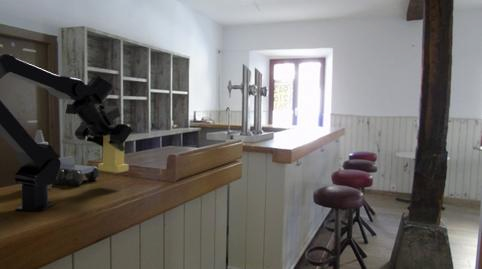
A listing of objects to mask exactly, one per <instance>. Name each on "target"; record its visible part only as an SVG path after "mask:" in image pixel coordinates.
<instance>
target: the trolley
mask: <svg viewBox="0 0 482 269" xmlns="http://www.w3.org/2000/svg"><path fill="white" fill-rule="evenodd" d="M58 158H59V160H60V162H61V164H60V169H59V171H58V174H57V178H56V181H55V185H62V184H65V183H66V182H67V184H69V185H70V186H71V187H76V186H79V185H81V184H83V182H84V178H86V180H88V181H91V182H92V181H93V182H94V181H95V180H98V179H99V178H100V175H101V170H98V166H96V165H82V164H78V163H77V164H75V162H76V160H75V158H76V156H75V155H71V156H64V157H58ZM84 176H85V177H84Z"/></svg>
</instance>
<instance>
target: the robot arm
mask: <svg viewBox="0 0 482 269" xmlns="http://www.w3.org/2000/svg"><path fill="white" fill-rule="evenodd" d="M6 75H7V76H10V77H13V78H16V79H19V80H21V81H24V82H27V83H29V84H33V85H35V86H38V87H41V88H43V89H45V90H47V91H48V92H49V94H50V95H53V96H54V97H56V98H57V99H60V100H64V101H72V102H71V103H67V104H66V109H65V114H66V115H76V116H77V117H78V118H79V120H80V121H81V122H80V125H79V126H78V127H77V128H76V130H74V136H75V137H76V138H77V140H82V141H86V142H89V143H90V144H91V143H92V144H94V145H97V146H100V147H101V148H103V136H108V135H110V141H109V142H108V143H109V144H110V145H112V146H114V147H115V148H117V149H119V150H120V151H123V150H124V151H125V144H123V143H124V142H126V140H127V139H128V137H129V136H130V135H131V133H132V132H133V127H132V126H131V124H128V123H117V124H116V125H115V126H112V125H113V124H114V123H115V122H114V120H116V119H117V118H120V117H121V116H122V114H121V113H120V112H121V111H120V108H119V106H117V105H115V106H114V105H107V106H104V105H103V104H102V103H103V102H105V100H106V99H107V98H108V96H109V95H110V94H111V93H112V92H113V89H114V88H113V85H112V83H110V82H109V81H107V80H106V79H104V78H103V77H101V76H100V75H99V74H97V75H93V76H92V78H91V79H90V80H89V82H87V83H86V84H85V81H83V80H81V79H80V78H75V77H71V76H62V75H58V74H55V73H52V72H50V71H49V70H48V71H47V70H45V69H43V68H40V67H38V66H36V65H34V64H30V63H28V62H27V61H23V60H21V59H19V58H17V57H15V56H14V55H12V54H10V53H0V80H1V79H2V78H4V76H6ZM97 104H98V105H97ZM0 136H1V137H2V138H3V139H4V140H5V141H6V142H7V143H8V144H9V145H10V146H11V147H12V149H13V150H14V151H15V152H16V153H17V157H18V158H17V159H18V162H19V164H20V167H19V168H17V170H16V172H14V173H13V175H12V178H13V180H14V183H16V184H21V205H19V206H16V208H15V209H14V210H15V211H24V212H25V211H31V212H33V211H35V212H40V211H41V212H42V211H45V210H46V209H48V208H50V207H51V206H53V205H55V201H49V190H48V185H51V184H52V185H54V184H55V181H56V178H57V174H58V171H59V169H60V164H61V162H60V160H59V158H60V157H61V156H60V154H58V153H56V151H55V149H54V147H53V146H52V145H51V144H48V145H47V144H39V143H36V142H35V138H33V137H32V136H31V135H30V133H29V132H28V131H27V130H26V129H25V127H24V126H23V125H22V124H21V122H19V120H18V119H17V117H15V116H14V114H13V113H12V112H11V111H10V109H9V108H8V107H7V106H6V105H5V103H3V101H2V100H1V99H0ZM35 176H36V177H35ZM55 185H56V184H55Z"/></svg>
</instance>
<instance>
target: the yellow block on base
mask: <svg viewBox="0 0 482 269" xmlns="http://www.w3.org/2000/svg"><path fill="white" fill-rule="evenodd" d="M109 141H110V135H108V136H103V147H102V162H101V163H98V164H97V167H98V170H100V171H104V172H109V173H116V174H117V173H123V172H128V171H129V168H130V167H129V166H130V165H129V164H127V163H125V149H124V150H123V151H120V150H119V149H117V148H115V147H114V146H112V145H110V144H109V143H108V142H109ZM125 142H126V141H125ZM125 142H124V143H123V144H124V145H125Z"/></svg>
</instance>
